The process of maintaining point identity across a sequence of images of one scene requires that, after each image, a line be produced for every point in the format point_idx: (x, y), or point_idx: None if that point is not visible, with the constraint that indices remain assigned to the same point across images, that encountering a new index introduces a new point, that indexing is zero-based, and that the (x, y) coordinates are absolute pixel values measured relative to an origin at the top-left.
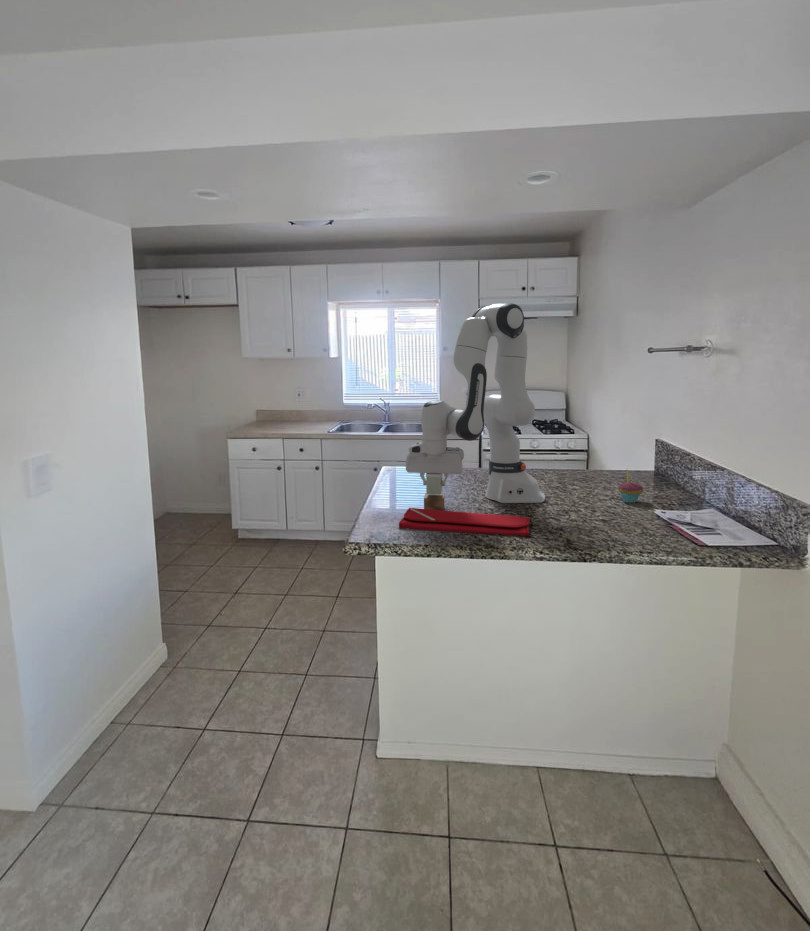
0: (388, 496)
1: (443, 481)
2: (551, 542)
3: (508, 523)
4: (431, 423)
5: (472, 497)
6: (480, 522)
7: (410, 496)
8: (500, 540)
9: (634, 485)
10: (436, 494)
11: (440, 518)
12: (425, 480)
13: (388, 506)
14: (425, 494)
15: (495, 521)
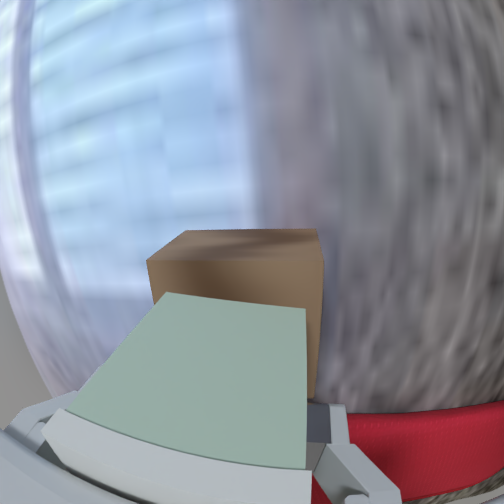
0: (9, 86)
1: (315, 472)
2: (499, 474)
3: (472, 479)
4: None
5: (470, 28)
6: (408, 497)
7: (84, 41)
8: (422, 498)
9: None
10: (249, 298)
11: None
12: None
13: (34, 252)
14: (157, 299)
15: (451, 480)
